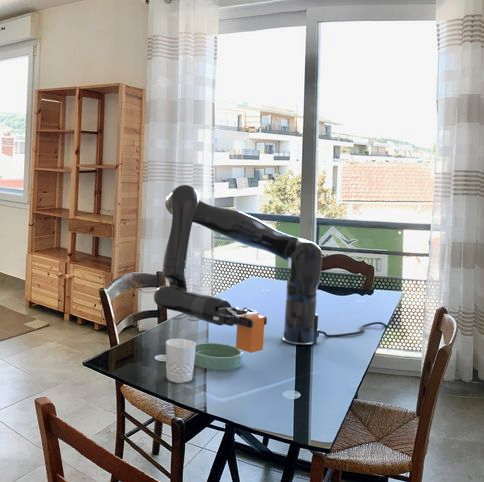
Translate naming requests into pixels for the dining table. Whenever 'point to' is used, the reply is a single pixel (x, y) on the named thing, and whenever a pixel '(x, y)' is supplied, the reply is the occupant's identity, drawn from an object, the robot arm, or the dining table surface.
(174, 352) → the white cup
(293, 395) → the dining table surface
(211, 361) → the bowl
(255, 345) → the carton
